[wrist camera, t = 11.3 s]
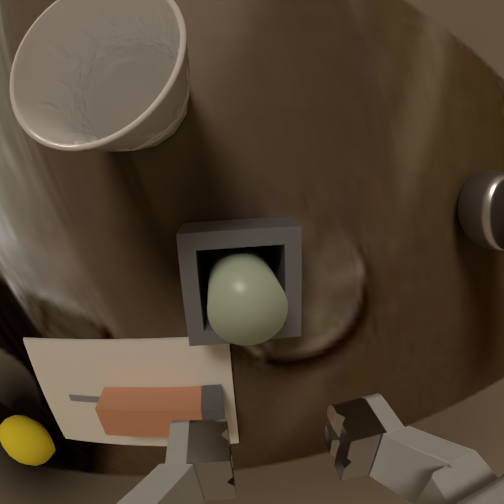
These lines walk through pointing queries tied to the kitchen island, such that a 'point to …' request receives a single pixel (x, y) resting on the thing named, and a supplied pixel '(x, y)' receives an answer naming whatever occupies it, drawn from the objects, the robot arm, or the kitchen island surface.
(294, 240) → the button housing
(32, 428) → the lemon
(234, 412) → the paper
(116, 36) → the white cup
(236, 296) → the button
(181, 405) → the block
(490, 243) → the plastic bottle
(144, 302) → the kitchen island surface
